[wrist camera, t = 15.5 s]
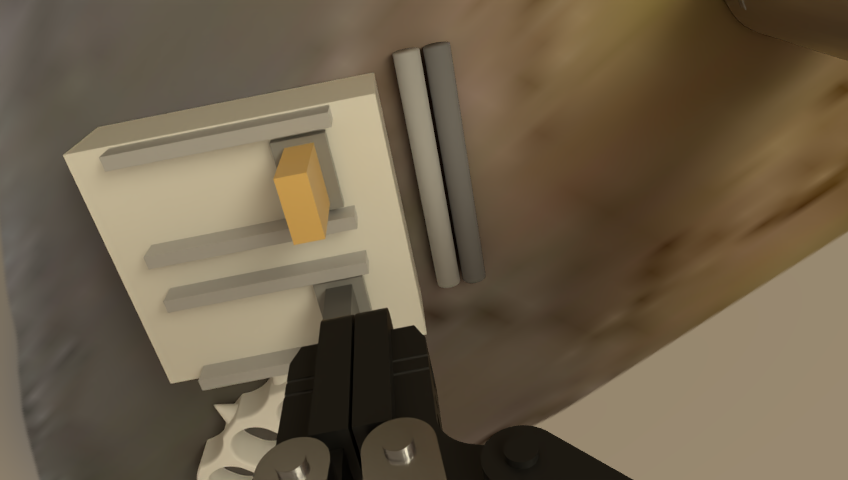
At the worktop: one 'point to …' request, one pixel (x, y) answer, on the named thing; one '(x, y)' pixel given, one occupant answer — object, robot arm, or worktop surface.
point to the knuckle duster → (243, 432)
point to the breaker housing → (245, 226)
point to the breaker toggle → (306, 184)
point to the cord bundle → (452, 158)
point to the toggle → (342, 297)
